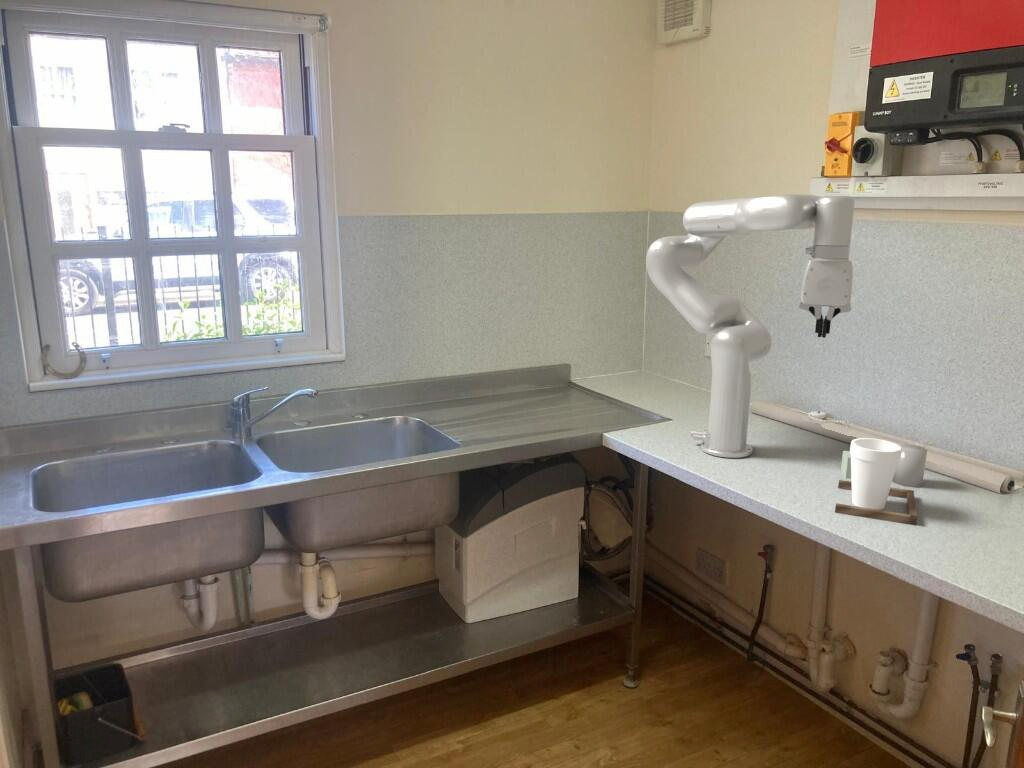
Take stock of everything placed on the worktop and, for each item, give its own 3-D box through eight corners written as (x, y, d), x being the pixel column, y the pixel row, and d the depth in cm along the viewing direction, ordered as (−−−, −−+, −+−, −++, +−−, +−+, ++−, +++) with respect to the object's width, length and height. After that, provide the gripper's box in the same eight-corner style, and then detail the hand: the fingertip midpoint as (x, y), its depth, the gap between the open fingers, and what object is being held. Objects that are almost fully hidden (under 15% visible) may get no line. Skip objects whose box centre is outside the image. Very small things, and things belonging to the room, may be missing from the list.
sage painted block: (845, 478, 179) (848, 457, 177) (840, 471, 183) (843, 450, 182) (868, 479, 178) (871, 458, 177) (863, 472, 183) (865, 452, 181)
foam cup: (860, 513, 158) (867, 452, 155) (835, 496, 167) (842, 438, 164) (903, 511, 159) (911, 451, 156) (876, 495, 168) (883, 437, 165)
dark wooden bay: (834, 512, 159) (835, 505, 158) (838, 486, 173) (839, 479, 173) (916, 525, 153) (917, 517, 152) (912, 497, 167) (913, 490, 167)
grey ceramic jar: (893, 484, 175) (897, 450, 173) (892, 476, 180) (896, 443, 178) (923, 488, 172) (927, 454, 170) (921, 480, 178) (926, 446, 176)
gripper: (792, 253, 170) (785, 336, 174) (867, 256, 164) (857, 342, 168) (795, 251, 177) (788, 331, 181) (868, 254, 171) (858, 336, 175)
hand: (821, 336), depth 175 cm, fingers closed
